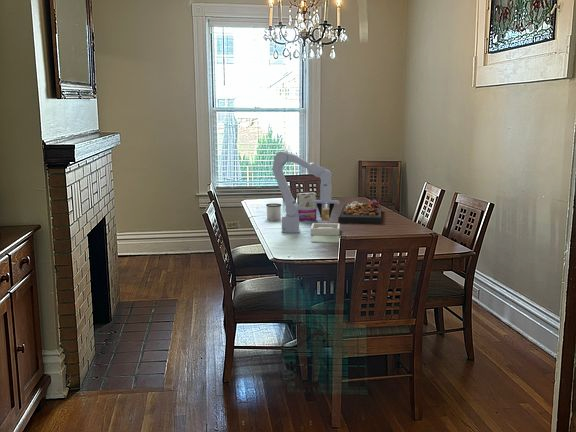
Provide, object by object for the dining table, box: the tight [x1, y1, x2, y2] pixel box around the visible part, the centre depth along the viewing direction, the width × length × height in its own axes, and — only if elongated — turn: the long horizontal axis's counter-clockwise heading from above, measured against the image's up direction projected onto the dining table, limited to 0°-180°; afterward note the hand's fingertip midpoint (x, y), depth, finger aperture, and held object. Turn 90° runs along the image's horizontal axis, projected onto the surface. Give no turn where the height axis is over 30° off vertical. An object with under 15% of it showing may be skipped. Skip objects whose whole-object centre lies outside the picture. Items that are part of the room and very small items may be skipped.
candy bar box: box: [296, 192, 317, 222], centre depth 346 cm, size 11×5×16 cm, turn 101°
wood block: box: [321, 207, 330, 222], centre depth 309 cm, size 4×4×6 cm
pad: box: [310, 235, 341, 244], centre depth 293 cm, size 14×14×1 cm
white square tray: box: [310, 222, 341, 236], centre depth 311 cm, size 15×15×4 cm
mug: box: [265, 202, 283, 221], centre depth 351 cm, size 12×10×9 cm
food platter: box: [337, 197, 382, 225], centre depth 356 cm, size 45×25×10 cm, turn 171°
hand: (325, 217), depth 310 cm, fingers closed on wood block, 4 cm apart
